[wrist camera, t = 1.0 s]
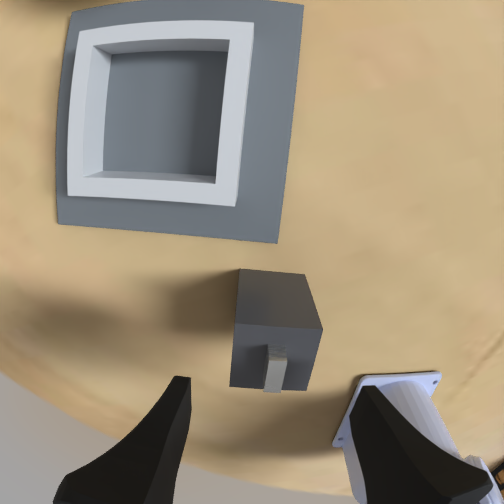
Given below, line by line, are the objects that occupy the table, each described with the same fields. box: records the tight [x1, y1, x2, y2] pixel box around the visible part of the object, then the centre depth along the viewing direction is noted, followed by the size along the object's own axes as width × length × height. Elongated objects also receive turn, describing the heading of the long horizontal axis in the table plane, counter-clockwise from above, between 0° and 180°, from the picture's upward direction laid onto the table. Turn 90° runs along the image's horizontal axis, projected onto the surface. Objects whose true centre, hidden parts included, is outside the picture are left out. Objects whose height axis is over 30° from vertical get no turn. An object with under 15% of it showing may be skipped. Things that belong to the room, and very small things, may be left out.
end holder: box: [56, 0, 304, 244], centre depth 15 cm, size 14×14×3 cm
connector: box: [229, 269, 323, 393], centre depth 17 cm, size 4×4×7 cm
